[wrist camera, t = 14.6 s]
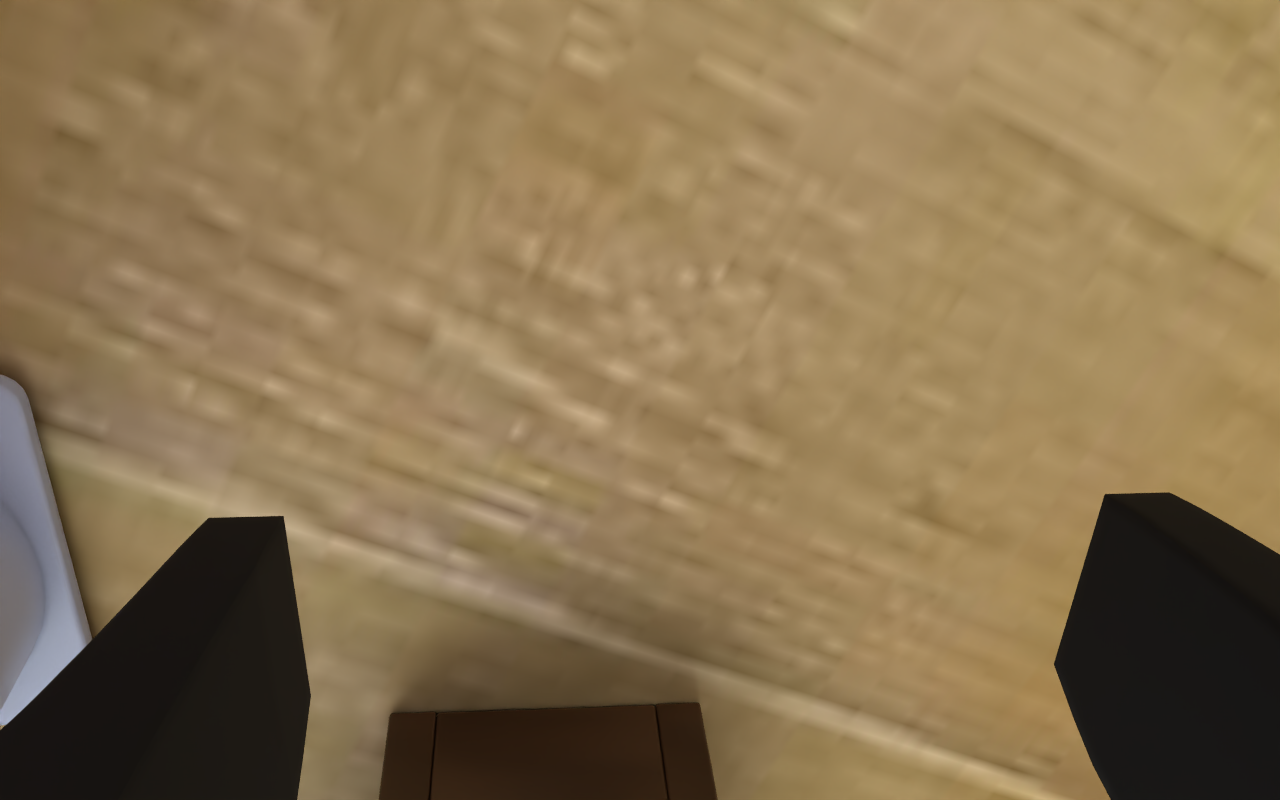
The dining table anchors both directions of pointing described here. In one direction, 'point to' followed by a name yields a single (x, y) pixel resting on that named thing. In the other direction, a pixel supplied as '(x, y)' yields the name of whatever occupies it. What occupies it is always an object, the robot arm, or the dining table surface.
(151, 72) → the dining table surface
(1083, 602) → the robot arm
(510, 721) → the holder
